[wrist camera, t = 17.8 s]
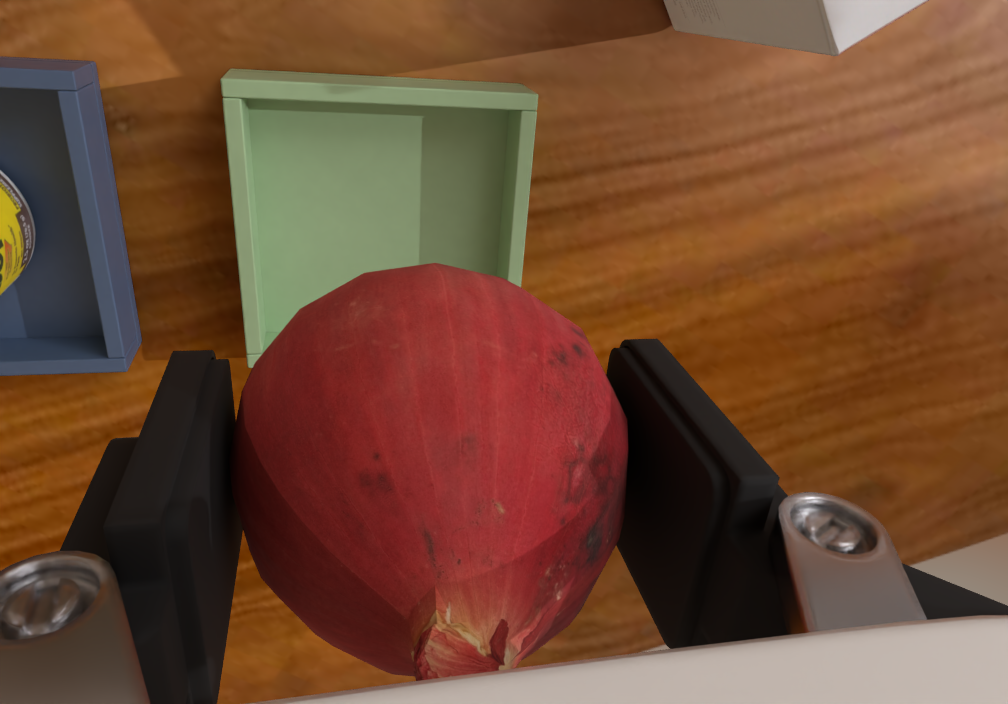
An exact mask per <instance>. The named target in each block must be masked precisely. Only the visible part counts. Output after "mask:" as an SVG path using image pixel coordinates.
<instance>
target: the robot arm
mask: <svg viewBox="0 0 1008 704" xmlns="http://www.w3.org/2000/svg"><path fill="white" fill-rule="evenodd" d="M606 376H607V378H608V380H609V382H610V384H611V386H612V387H613V389H614V391H615V393H616V396H617V398H618V400H619V402H620V405H621V407H622V409H623V411H624V414H625V416H626V418H627V426H628V463H627V481H626V499H625V516H624V520H623V524H622V528H621V532H620V536H619V540H618V542H617V544H616V545H617V547H618V549H619V551H620V553H621V555H622V557H623V559H624V561H625V563H626V565H627V567H628V569H629V571H630V573H631V575H632V577H633V579H634V581H635V583H636V585H637V587H638V589H639V591H640V594H641V596H642V598H643V600H644V602H645V604H646V606H647V608H648V610H649V612H650V614H651V616H652V618H653V620H654V622H655V624H656V626H657V628H658V630H659V632H660V634H661V636H662V638H663V640H664V642H665V643H666V645H667V646H668V647H669V648H670V649H668V650H659V651H651V652H643V653H635V654H627V655H619V656H611V657H603V658H595V659H587V660H579V661H571V662H563V663H555V664H547V665H539V666H531V667H523V668H515V669H507V670H500V671H492V672H484V673H476V674H468V675H460V676H452V677H444V678H437V679H429V680H421V681H414V682H406V683H399V684H391V685H384V686H376V687H368V688H361V689H353V690H346V691H338V692H330V693H323V694H315V695H308V696H300V697H292V698H285V699H277V700H270V701H262V702H255V703H247V704H1008V606H1007V605H1004V604H1002V603H999V602H997V601H994V600H992V599H989V598H987V597H984V596H982V595H980V594H977V593H974V592H972V591H970V590H967V589H965V588H962V587H960V586H957V585H954V584H952V583H950V582H947V581H945V580H942V579H940V578H937V577H935V576H932V575H930V574H927V573H925V572H922V571H920V570H917V569H915V568H912V567H910V566H907V565H905V564H903V563H901V561H900V559H899V556H898V554H897V552H896V550H895V548H894V545H893V543H892V541H891V539H890V537H889V534H888V533H887V531H886V530H885V528H884V527H883V525H882V524H881V523H880V522H879V521H878V520H877V519H876V518H874V517H873V516H872V515H871V514H870V513H869V512H867V511H865V510H864V509H862V508H860V507H859V506H857V505H855V504H853V503H851V502H849V501H846V500H844V499H841V498H839V497H835V496H831V495H827V494H823V493H811V492H804V493H798V494H793V495H791V496H789V497H788V495H787V494H786V493H785V492H784V491H783V490H782V489H781V487H780V486H779V485H778V481H779V476H778V475H777V474H776V473H775V472H774V471H773V470H772V469H771V467H770V466H769V465H768V464H767V463H766V462H765V461H764V459H763V458H762V457H761V456H760V455H759V454H758V453H757V451H756V450H755V449H754V448H753V447H752V446H751V445H750V443H749V442H748V441H747V440H746V439H745V438H744V437H743V435H742V434H741V433H740V432H739V431H738V430H737V429H736V427H735V426H734V425H733V424H732V423H731V422H730V421H729V419H728V418H727V417H726V416H725V415H724V414H723V413H722V411H721V410H720V409H719V408H718V407H717V406H716V405H715V403H714V402H713V401H712V400H711V399H710V398H709V397H708V395H707V394H706V393H705V392H704V391H703V390H702V389H701V387H700V386H699V385H698V384H697V383H696V382H695V381H694V379H693V378H692V377H691V376H690V375H689V374H688V373H687V371H686V370H685V369H684V368H683V367H682V366H681V365H680V363H679V362H678V361H677V360H676V359H675V358H674V357H673V355H672V354H671V353H670V352H669V351H668V350H667V349H666V348H665V346H664V345H663V344H662V343H661V342H660V341H659V340H658V339H631V340H624V341H623V342H622V343H621V345H620V348H614V349H612V351H611V353H610V357H609V362H608V369H607V375H606ZM235 425H236V419H235V410H234V400H233V391H232V381H231V372H230V364H229V361H228V359H216V357H215V353H214V351H213V350H202V351H173V353H172V355H171V357H170V360H169V362H168V365H167V367H166V370H165V372H164V375H163V377H162V380H161V382H160V385H159V387H158V390H157V392H156V395H155V397H154V400H153V402H152V405H151V407H150V410H149V412H148V415H147V418H146V420H145V423H144V425H143V428H142V430H141V433H140V435H139V437H131V438H115V439H113V440H111V441H110V443H109V444H108V446H107V448H106V450H105V452H104V454H103V457H102V459H101V461H100V463H99V465H98V468H97V470H96V472H95V474H94V476H93V479H92V481H91V483H90V485H89V487H88V490H87V492H86V494H85V496H84V498H83V501H82V503H81V505H80V507H79V509H78V512H77V514H76V516H75V518H74V520H73V523H72V525H71V527H70V529H69V531H68V534H67V536H66V538H65V540H64V542H63V545H62V547H61V549H60V551H56V552H51V553H46V554H41V555H36V556H33V557H30V558H28V559H25V560H23V561H20V562H17V563H15V564H12V565H10V566H9V567H7V568H5V569H3V570H2V571H0V704H216V703H217V699H218V693H219V687H220V680H221V673H222V667H223V660H224V653H225V646H226V640H227V633H228V626H229V619H230V613H231V606H232V599H233V592H234V586H235V579H236V572H237V566H238V559H239V552H240V545H241V539H242V532H243V527H242V523H241V520H240V517H239V514H238V510H237V507H236V504H235V501H234V497H233V494H232V485H231V476H230V467H229V455H230V450H231V445H232V440H233V435H234V430H235Z"/></svg>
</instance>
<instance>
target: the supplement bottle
mask: <svg viewBox="0 0 1008 704" xmlns="http://www.w3.org/2000/svg"><path fill="white" fill-rule="evenodd" d="M35 235H36V234H35V225H34V220H33V217H32V213H31V211H30V208H29V206H28V204H27V202H26V200H25V198H24V196H23V195H22V193H21V192H20V190H19V189H18V188H17V187H16V186H15V184H14V183H13V182H12V181H11V180H10V179H9V178H8V177H7V176H6V175H5V174H4V173H3V172H2V171H1V170H0V295H1V294H2V293H3V292H4V291H5V290H6V289H7V288H8V287H9V286H10V285H11V284H12V283H13V282H14V281H15V280H16V279H17V278H18V277H19V276H20V274H21V273H22V272H23V271H24V269H25V268H26V266H27V265H28V263H29V261H30V259H31V257H32V254H33V251H34V247H35Z"/></svg>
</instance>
